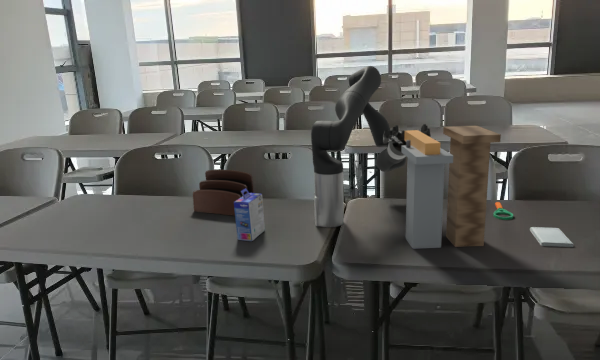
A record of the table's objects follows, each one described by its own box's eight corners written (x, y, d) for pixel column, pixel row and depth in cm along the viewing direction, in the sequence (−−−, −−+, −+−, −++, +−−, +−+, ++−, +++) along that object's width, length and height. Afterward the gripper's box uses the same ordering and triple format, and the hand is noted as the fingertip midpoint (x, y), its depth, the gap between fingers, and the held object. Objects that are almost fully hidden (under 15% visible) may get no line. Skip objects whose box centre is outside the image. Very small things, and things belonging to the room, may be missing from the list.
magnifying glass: (514, 221, 156) (515, 216, 155) (494, 220, 157) (495, 215, 157) (506, 207, 170) (507, 202, 169) (488, 206, 171) (488, 201, 171)
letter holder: (208, 204, 184) (205, 167, 180) (255, 208, 176) (253, 171, 173) (193, 212, 175) (190, 173, 171) (241, 217, 167) (239, 177, 164)
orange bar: (424, 154, 127) (425, 143, 126) (404, 140, 148) (404, 130, 148) (440, 154, 127) (440, 142, 127) (417, 139, 149) (417, 130, 148)
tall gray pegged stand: (413, 254, 132) (416, 149, 125) (399, 233, 147) (401, 138, 140) (448, 253, 132) (453, 147, 125) (431, 232, 148) (434, 137, 140)
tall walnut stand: (457, 252, 132) (463, 135, 124) (439, 231, 148) (443, 126, 140) (492, 251, 132) (500, 134, 124) (470, 230, 148) (476, 125, 140)
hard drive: (573, 243, 133) (559, 227, 145) (541, 242, 135) (529, 226, 146) (573, 249, 134) (558, 232, 145) (541, 247, 135) (529, 231, 147)
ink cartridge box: (249, 228, 155) (246, 185, 152) (265, 230, 154) (263, 186, 150) (235, 240, 146) (232, 193, 143) (252, 241, 145) (249, 195, 141)
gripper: (378, 135, 164) (386, 116, 148) (420, 134, 164) (433, 115, 149) (380, 156, 162) (389, 139, 146) (422, 155, 162) (436, 138, 147)
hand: (411, 127), depth 147 cm, fingers open, 8 cm apart
